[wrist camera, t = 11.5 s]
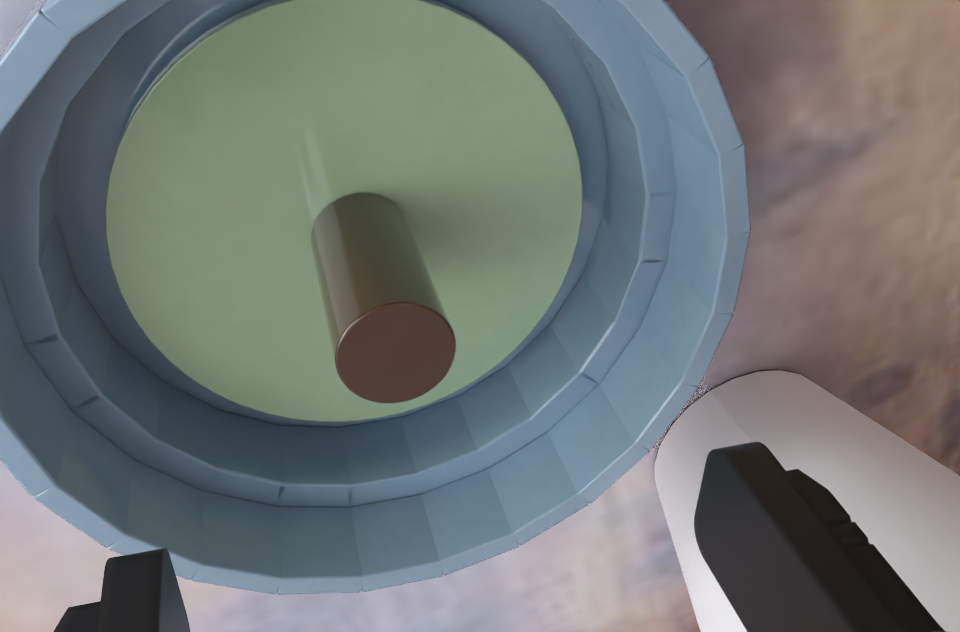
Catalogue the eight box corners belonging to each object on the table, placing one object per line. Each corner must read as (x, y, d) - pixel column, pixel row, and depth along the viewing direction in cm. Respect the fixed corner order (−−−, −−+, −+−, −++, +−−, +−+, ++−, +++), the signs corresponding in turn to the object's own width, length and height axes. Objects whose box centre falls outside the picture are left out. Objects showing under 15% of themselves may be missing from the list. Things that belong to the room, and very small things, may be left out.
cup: (662, 605, 35) (844, 949, 25) (527, 442, 28) (703, 826, 18) (920, 450, 34) (1218, 745, 24) (844, 240, 27) (1219, 531, 17)
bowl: (137, -338, 15) (108, -372, 11) (760, 60, 23) (893, 136, 18) (-88, 362, 21) (-166, 524, 17) (464, 496, 29) (511, 633, 24)
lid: (51, -6, 17) (-11, 92, 12) (584, -33, 20) (707, 41, 15) (161, 427, 24) (149, 606, 19) (556, 366, 26) (637, 510, 21)
